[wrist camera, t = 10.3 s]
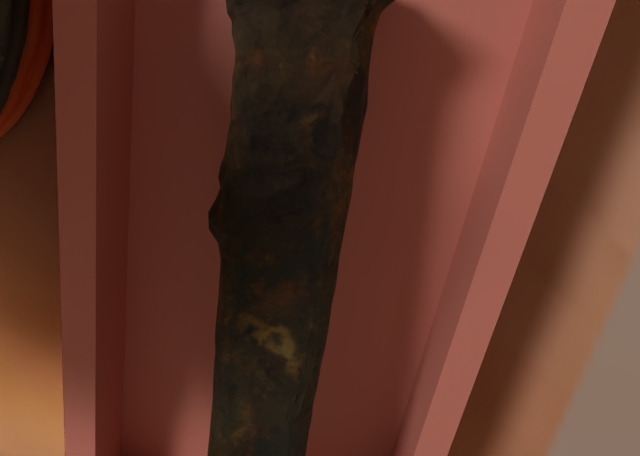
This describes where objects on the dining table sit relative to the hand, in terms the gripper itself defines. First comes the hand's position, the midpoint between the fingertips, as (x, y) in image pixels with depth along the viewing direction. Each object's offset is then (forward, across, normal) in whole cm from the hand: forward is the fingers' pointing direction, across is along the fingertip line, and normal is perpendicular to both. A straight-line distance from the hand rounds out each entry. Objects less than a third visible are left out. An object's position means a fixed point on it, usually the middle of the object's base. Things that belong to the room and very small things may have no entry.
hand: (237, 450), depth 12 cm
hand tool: (+6, +1, 0) cm, 6 cm away
